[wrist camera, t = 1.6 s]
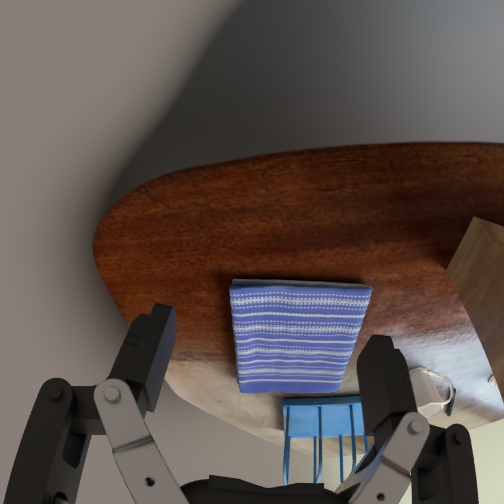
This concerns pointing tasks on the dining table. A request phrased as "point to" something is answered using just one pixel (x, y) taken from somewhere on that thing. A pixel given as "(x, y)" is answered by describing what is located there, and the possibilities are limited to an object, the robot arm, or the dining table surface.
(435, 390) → the cup
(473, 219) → the stand
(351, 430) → the file sorter
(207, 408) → the dining table surface
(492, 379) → the chess piece
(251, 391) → the dish towel
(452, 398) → the pen
